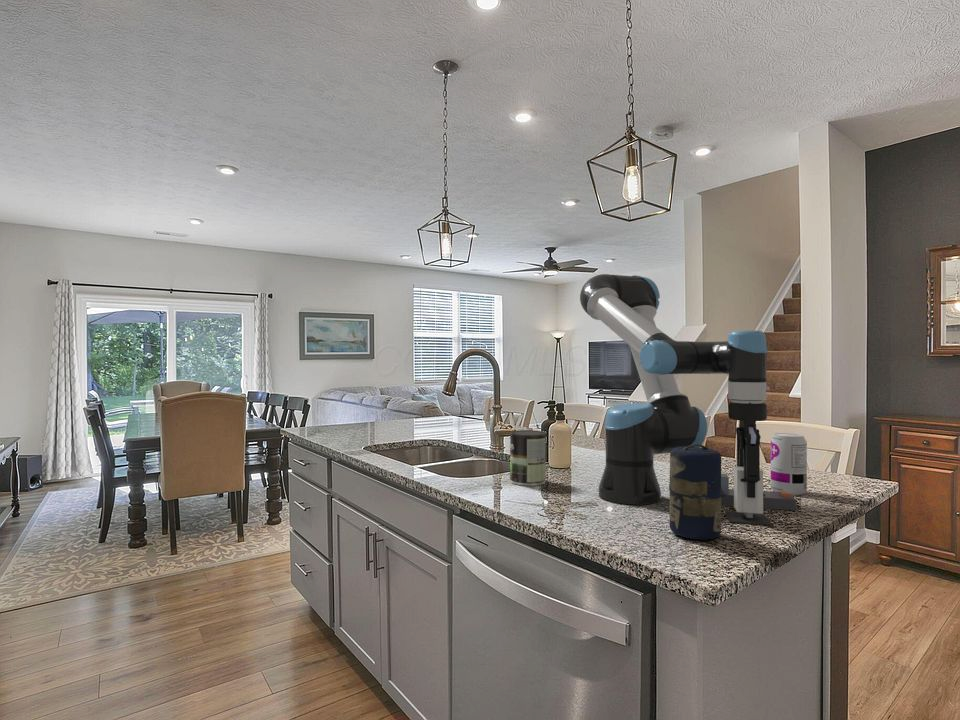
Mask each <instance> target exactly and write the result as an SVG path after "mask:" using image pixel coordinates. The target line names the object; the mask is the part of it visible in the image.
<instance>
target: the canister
mask: <svg viewBox="0 0 960 720" xmlns="http://www.w3.org/2000/svg"><path fill="white" fill-rule="evenodd" d="M694 446H700V447H694ZM721 474H722V454H721V453H720V451H718V450H716V449H714V448H709V447H707V446H705V445H703V444H702V445H699V444H694V445H690V446H688V447H676V448H673V449H672V450H671V452H670V453H669V483H668V490H669V503H668V504H669V528H670V530H671V532H673V533H674V534H676V535H677V536H679V537H683V538H687V539H692V540H701V541H705V540H713V539H717V538H718V537H719V536H721V533H722V532H721V531H722V523H721V522H722V505H721Z"/></svg>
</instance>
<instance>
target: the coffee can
mask: <svg viewBox="0 0 960 720" xmlns="http://www.w3.org/2000/svg"><path fill="white" fill-rule="evenodd" d="M509 436H510V437H509V438H510V439H509V444H510V445H509V449H510V450H509V456H510V457H509V462H510V463H509V483H510V484H513V485H517V486H522V487H523V486H524V487H536V486H542V485H545V484H546V482H547V481H546V449H547V447H546V442H547V441H546V439H547V438H546V437H547V432H545V431H542V430H535V429H534V430H533V429H528V430H527V429H525V430H524V429H523V430H522V429H520V430H512V431H510V432H509Z"/></svg>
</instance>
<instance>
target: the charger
mask: <svg viewBox="0 0 960 720" xmlns="http://www.w3.org/2000/svg"><path fill="white" fill-rule="evenodd" d="M740 479H744V467H738V466H737V465H736V466H733V489H734V506H733V507H734V509H735V510H736V511H735V512H743V482H741V481H740ZM763 491H764V471H763V470H762V469H761V468H760V481H758V482H757V496H758V514H764V508H763ZM743 513H744V514H745V516H746V517H747V518H753V513H748V512H743Z"/></svg>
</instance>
